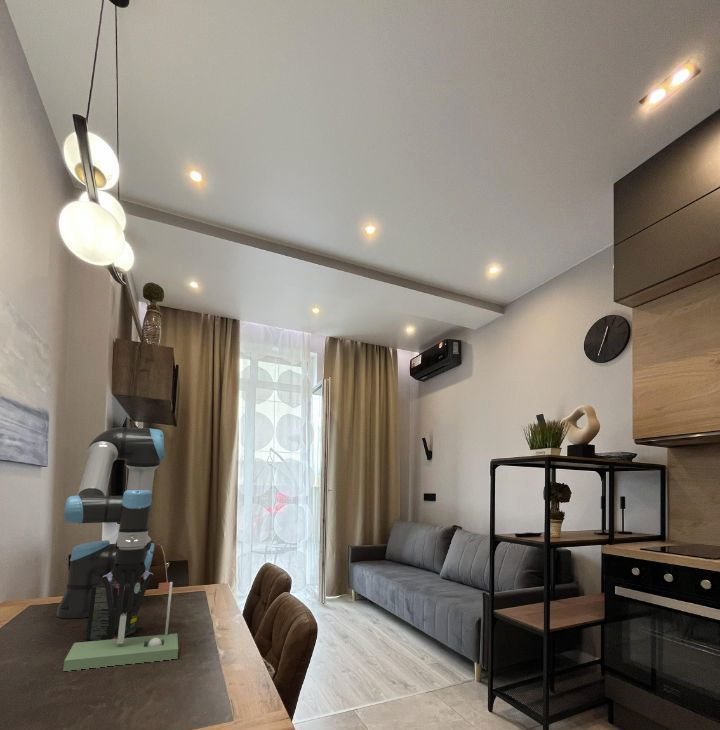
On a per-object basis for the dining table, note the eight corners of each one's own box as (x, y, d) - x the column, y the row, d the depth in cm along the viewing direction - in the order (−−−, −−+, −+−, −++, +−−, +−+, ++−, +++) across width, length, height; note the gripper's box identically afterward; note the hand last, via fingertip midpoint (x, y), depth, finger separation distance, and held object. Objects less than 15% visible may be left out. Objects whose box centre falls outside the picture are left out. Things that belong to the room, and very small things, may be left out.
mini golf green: (72, 653, 129) (82, 586, 133) (176, 643, 139) (182, 581, 142) (62, 672, 117) (73, 597, 121) (177, 659, 126) (183, 591, 130)
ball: (154, 633, 133) (164, 640, 133) (145, 645, 131) (155, 653, 132) (154, 637, 129) (164, 644, 130) (144, 649, 128) (154, 657, 128)
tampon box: (112, 643, 138) (118, 587, 141) (84, 640, 140) (91, 585, 143) (136, 631, 148) (142, 580, 152) (110, 629, 150) (116, 578, 154)
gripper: (103, 550, 128) (91, 649, 122) (157, 548, 133) (147, 643, 127) (106, 546, 135) (94, 640, 129) (157, 545, 139) (147, 635, 134)
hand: (120, 641), depth 128 cm, fingers closed
